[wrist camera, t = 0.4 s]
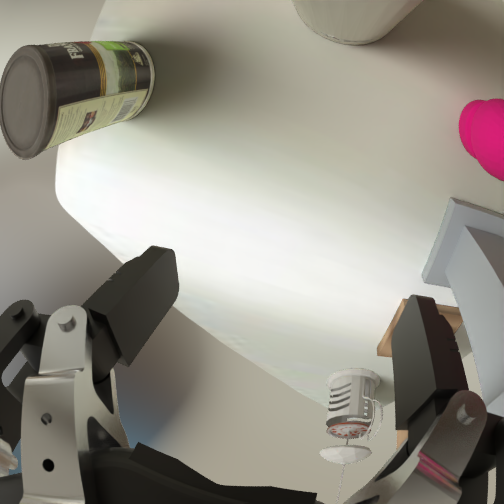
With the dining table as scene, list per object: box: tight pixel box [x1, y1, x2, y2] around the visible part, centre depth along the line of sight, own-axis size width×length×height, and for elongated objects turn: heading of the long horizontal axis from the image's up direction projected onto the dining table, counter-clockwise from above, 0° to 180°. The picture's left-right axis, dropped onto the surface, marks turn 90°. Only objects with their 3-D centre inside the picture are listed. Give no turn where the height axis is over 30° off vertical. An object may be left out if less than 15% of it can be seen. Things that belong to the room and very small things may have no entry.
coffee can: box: [0, 41, 155, 160], centre depth 19 cm, size 10×10×14 cm
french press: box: [320, 368, 383, 504], centre depth 32 cm, size 10×12×25 cm
